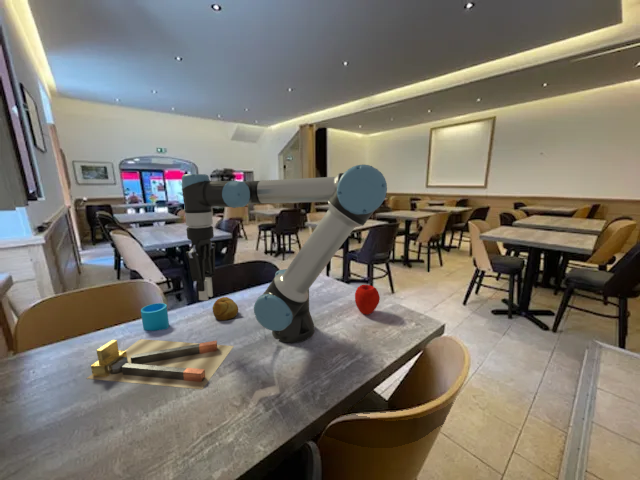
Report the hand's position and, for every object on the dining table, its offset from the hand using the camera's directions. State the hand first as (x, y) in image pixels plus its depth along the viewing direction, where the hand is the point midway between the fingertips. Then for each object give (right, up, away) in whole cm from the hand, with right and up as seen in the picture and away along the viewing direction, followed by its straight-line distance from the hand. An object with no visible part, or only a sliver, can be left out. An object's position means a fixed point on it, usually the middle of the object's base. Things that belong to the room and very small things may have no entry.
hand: (206, 297), depth 88 cm
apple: (+56, -12, +25) cm, 63 cm away
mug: (-25, -14, +15) cm, 32 cm away
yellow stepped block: (-22, -17, -11) cm, 30 cm away
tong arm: (-6, -16, -6) cm, 19 cm away
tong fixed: (-8, -18, -13) cm, 23 cm away
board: (-8, -18, -8) cm, 22 cm away
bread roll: (-2, -12, +24) cm, 27 cm away
